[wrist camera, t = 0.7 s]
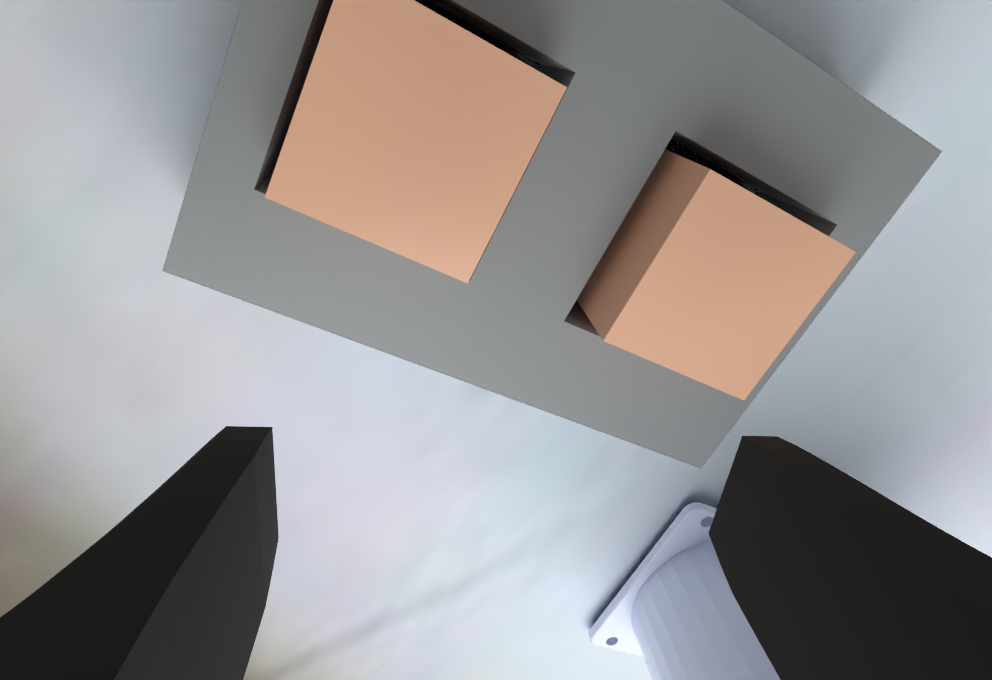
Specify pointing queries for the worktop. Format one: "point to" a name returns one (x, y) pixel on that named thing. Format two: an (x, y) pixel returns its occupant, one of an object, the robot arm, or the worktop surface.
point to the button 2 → (708, 277)
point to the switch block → (547, 199)
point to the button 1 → (411, 133)
